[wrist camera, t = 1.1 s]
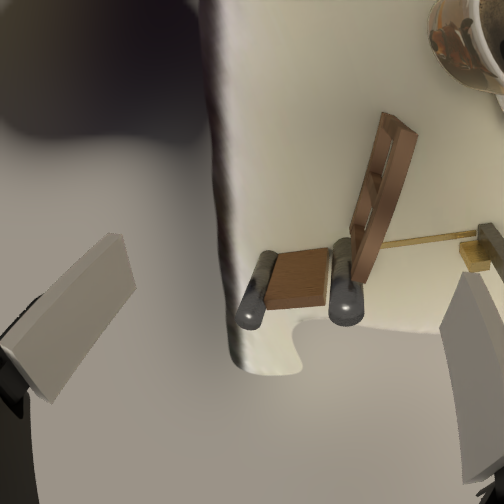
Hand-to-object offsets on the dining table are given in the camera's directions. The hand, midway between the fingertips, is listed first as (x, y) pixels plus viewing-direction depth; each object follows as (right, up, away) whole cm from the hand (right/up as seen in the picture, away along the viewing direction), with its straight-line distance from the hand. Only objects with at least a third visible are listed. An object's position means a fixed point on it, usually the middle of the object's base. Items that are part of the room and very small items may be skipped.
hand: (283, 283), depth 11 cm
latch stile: (+23, +3, +17) cm, 29 cm away
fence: (+11, +2, +21) cm, 24 cm away
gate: (+10, +8, +16) cm, 21 cm away
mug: (+19, +19, +8) cm, 28 cm away
